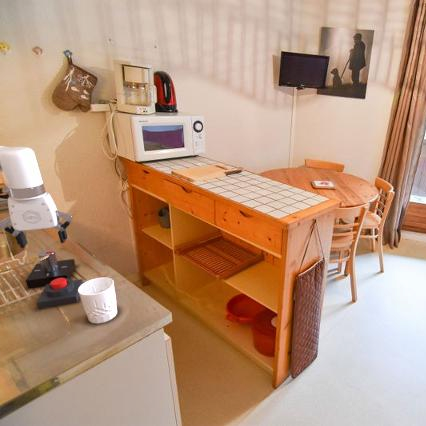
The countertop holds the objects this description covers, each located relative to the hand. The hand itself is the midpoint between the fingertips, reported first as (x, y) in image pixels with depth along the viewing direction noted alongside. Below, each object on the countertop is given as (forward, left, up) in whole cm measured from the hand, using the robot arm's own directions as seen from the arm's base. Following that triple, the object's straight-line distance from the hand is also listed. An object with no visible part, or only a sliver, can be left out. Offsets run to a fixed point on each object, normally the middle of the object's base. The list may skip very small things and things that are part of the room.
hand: (44, 243), depth 97 cm
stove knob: (0, 0, -9) cm, 9 cm away
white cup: (+17, -25, -13) cm, 32 cm away
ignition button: (+5, -12, -9) cm, 15 cm away
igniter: (+5, -12, -12) cm, 18 cm away
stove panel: (0, 0, -12) cm, 12 cm away
